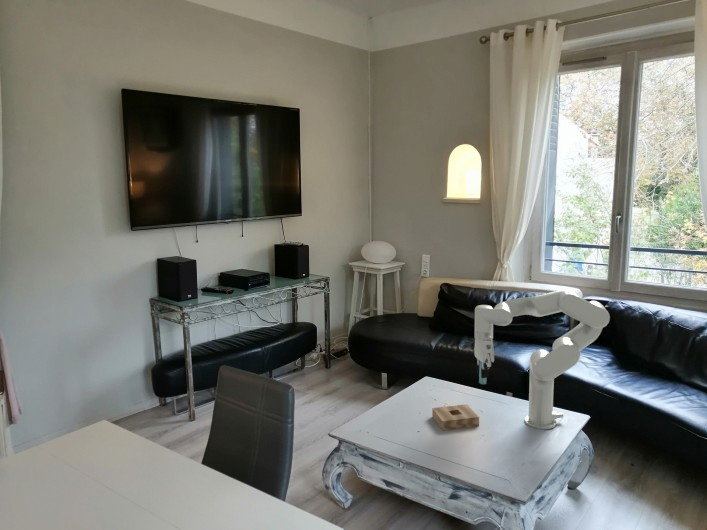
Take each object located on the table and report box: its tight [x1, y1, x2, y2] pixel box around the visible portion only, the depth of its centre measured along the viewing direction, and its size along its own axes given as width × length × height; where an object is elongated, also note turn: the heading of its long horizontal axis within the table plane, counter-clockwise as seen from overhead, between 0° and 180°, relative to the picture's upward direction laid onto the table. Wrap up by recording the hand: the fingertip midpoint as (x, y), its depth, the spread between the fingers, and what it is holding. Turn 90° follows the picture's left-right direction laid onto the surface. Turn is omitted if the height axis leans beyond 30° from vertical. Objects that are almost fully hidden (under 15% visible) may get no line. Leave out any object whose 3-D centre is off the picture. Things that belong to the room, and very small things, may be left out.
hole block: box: [431, 403, 480, 431], centre depth 231 cm, size 16×13×4 cm
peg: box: [478, 361, 488, 385], centre depth 230 cm, size 3×3×10 cm
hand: (483, 375), depth 230 cm, fingers closed on peg, 3 cm apart
